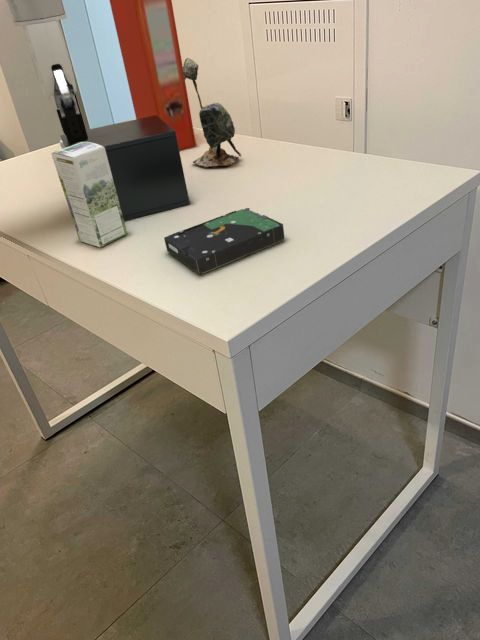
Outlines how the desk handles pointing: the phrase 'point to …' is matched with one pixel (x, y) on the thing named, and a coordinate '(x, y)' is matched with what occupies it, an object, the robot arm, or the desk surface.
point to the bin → (148, 177)
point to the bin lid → (127, 133)
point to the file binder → (154, 63)
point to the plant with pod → (212, 126)
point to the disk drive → (224, 239)
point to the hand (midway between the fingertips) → (75, 136)
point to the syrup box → (90, 193)
